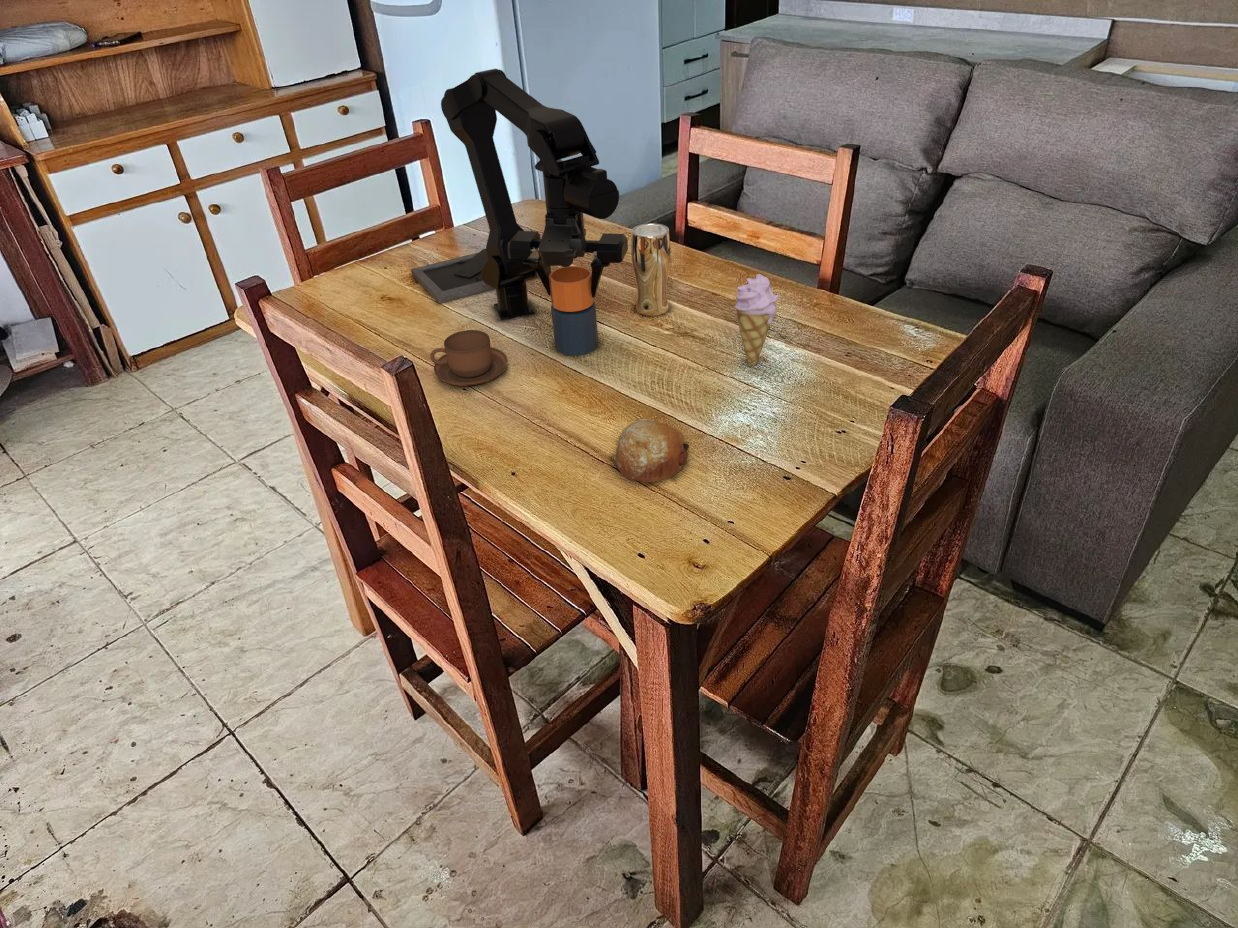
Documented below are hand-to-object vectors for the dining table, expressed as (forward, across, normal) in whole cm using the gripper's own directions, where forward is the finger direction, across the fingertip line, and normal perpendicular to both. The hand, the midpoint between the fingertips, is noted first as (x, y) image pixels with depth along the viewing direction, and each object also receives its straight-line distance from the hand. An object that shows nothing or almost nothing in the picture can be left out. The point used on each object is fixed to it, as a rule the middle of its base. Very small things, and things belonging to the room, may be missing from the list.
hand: (572, 295), depth 138 cm
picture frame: (+10, -28, +26) cm, 40 cm away
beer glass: (+9, +11, +15) cm, 21 cm away
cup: (+1, 0, 0) cm, 1 cm away
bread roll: (+9, +19, -32) cm, 38 cm away
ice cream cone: (+9, +31, -3) cm, 32 cm away
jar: (+9, 0, 0) cm, 9 cm away
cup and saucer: (+10, -15, -12) cm, 21 cm away
